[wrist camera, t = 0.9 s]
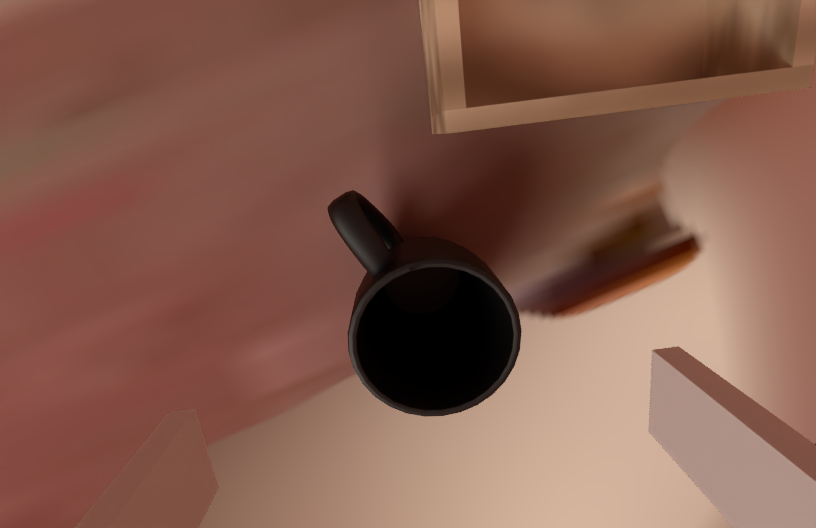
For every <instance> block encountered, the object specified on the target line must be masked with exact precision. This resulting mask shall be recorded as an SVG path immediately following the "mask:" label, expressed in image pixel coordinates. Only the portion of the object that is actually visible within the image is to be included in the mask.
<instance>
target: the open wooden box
mask: <svg viewBox="0 0 816 528" xmlns="http://www.w3.org/2000/svg"><path fill="white" fill-rule="evenodd" d="M419 8H420V18H421V28H422V38H423V48H424V58H425V68H426V78H427V88H428V98H429V108H430V118H431V128H432V134H449V133H457V132H465V131H473V130H480V129H488V128H496V127H504V126H512V125H520V124H528V123H536V122H544V121H552V120H560V119H568V118H575V117H583V116H591V115H599V114H607V113H615V112H623V111H631V110H639V109H647V108H655V107H663V106H671V105H678V104H686V103H694V102H702V101H710V100H718V99H726V98H734V97H741V96H749V95H758V94H765V93H774V92H781V91H789V90H797V89H805V88H811V84H812V78H813V71H814V64H815V57H816V0H419Z"/></svg>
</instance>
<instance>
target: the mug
mask: <svg viewBox="0 0 816 528" xmlns="http://www.w3.org/2000/svg"><path fill="white" fill-rule="evenodd" d="M328 213H329V217H330V219H331V221H332V223H333V225H334V227H335V228H336V230H337V232H338V233H339V235H340V236H341V238H342V239H343V240H344V242H345V243H346V245H347V246H348V247H349V249H350V250H351V251H352V253H353V254H354V255H355V257H356V258H357V259H358V260H359V262H360V263H361V264H362V265H363V267H364V268H365V269H366V270H367V273H366V275H365V277H364V278H363V280H362V283H361V285H360V287H359V289H358V291H357V293H356V297H355V301H354V306H353V311H352V316H351V320H350V325H349V330H348V350H349V354H350V358H351V361H352V364H353V368H354V369H355V371H356V373H357V375H358V376H359V378H360V380H361V381H362V383H363V384H364V386H365V387H366V388H367V389H368V390H369V391H370V392H371V393H372V394H373V395H374V396H375V397H376V398H378V399H379V400H381V401H382V402H384V403H385V404H387V405H388V406H390V407H393V408H395V409H397V410H400V411H403V412H405V413H409V414H414V415H421V416H444V415H449V414H453V413H458V412H462V411H464V410H466V409H469V408H471V407H473V406H476V405H478V404H479V403H481V402H482V401H484V400H485V399H486V398H488V397H489V396H491V395H492V394H493V393H494V392H495V391H496V390H497V389H498V388H499V387H500V386H501V385H502V384H503V383H504V382H505V380H506V379H507V377H508V375H509V374H510V372H511V371H512V369H513V367H514V365H515V362H516V359H517V356H518V353H519V350H520V340H521V325H520V319H519V313H518V311H517V308H516V306H515V304H514V301H513V299H512V297H511V295H510V294H509V293H508V291H507V290H506V289H505V287H504V286H503V285H502V283H501V282H500V281H499V280H498V278H497V277H496V276H495V274H494V273H493V272H492V270H491V269H490V268H489V267H488V265H487V264H486V263H485V262H483V261H482V260H481V259H480V258H478V257H477V256H476V255H475V254H473V253H472V252H471V251H469V250H468V249H466V248H464V247H462V246H459V245H457V244H455V243H453V242H451V241H447V240H443V239H438V238H415V239H411V240H406V241H404V240H403V239H402V237H401V236H400V234H399V233H398V231H397V230H396V229H395V227H394V226H393V225H392V224H391V223H390V221H389V220H388V219H387V218H386V217H385V216H384V215H383V214H382V213H381V212H380V211H379V210H378V209H377V208H376V207H375V206H374V205H372V204H371V203H370V202H369V201H368V200H367V199H366V198H365V197H363V196H362V195H361V194H359V193H357V192H356V191H354V190H352V191H349V192H346V193H344V194H342V195H341V196H339V197H338V198H336V199H335V200H333V201H332V203H331V204H330V205H329V206H328Z"/></svg>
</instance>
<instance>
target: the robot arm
mask: <svg viewBox="0 0 816 528" xmlns="http://www.w3.org/2000/svg"><path fill="white" fill-rule="evenodd" d="M650 389H651V390H650V412H649V432H650V434H651V435H652V436H653V437H654V438H655V439H656V440H657V441H658V443H659V444H660V445H661V446H662V447H663V448H664V449H665V450H666V452H667V453H668V454H669V455H670V456H671V457H672V458H673V460H675V462H676V463H677V464H678V465H679V466H680V467H681V468H682V470H683V471H684V472H685V473H686V474H687V475H688V477H690V479H691V480H692V481H693V482H694V483H695V484H696V486H697V487H698V488H699V489H700V490H701V491H702V492H703V493H704V494H705V496H706V497H707V498H708V499H709V500H710V501H711V503H712V504H713V505H714V506H715V507H716V508H717V509H718V510H719V512H720V513H721V514H722V515H723V516H724V517H725V518H726V519H727V521H728V522H729V523H730V524H731V525H732V526H733V527H734V528H816V444H814V443H812V442H811V441H809V440H808V439H806V438H805V437H804V436H802V435H801V434H800V433H798V432H797V431H795V430H794V429H793V428H791V427H790V426H788V425H787V424H785V423H784V422H783V421H781V420H780V419H779V418H777V417H776V416H774V415H773V414H772V413H770V412H769V411H768V410H766V409H765V408H763V407H762V406H761V405H759V404H758V403H756V402H755V401H754V400H752V399H751V398H750V397H748V396H747V395H745V394H744V393H743V392H741V391H740V390H738V389H737V388H736V387H734V386H733V385H731V384H730V383H729V382H727V381H726V380H724V379H723V378H722V377H720V376H719V375H718V374H716V373H715V372H713V371H712V370H710V369H709V368H708V367H706V366H705V365H703V364H702V363H701V362H699V361H698V360H697V359H695V358H694V357H692V356H691V355H689V354H688V353H687V352H685V351H684V350H683V349H681V348H680V347H672V348H664V349H656V350H652V364H651V388H650ZM218 487H219V486H218V483H217V480H216V477H215V473H214V470H213V467H212V463H211V460H210V457H209V453H208V450H207V447H206V443H205V440H204V437H203V433H202V430H201V427H200V424H199V420H198V417H197V414H196V410H195V409H191V410H183V411H175V412H168V413H167V415H166V416H165V417H164V418H163V420H162V421H161V422H160V423H159V424H158V426H157V427H156V428H155V429H154V431H153V432H152V433H151V434H150V436H149V437H148V438H147V439H146V440H145V442H144V443H143V444H142V445H141V447H140V448H139V449H138V450H137V452H136V453H135V454H134V455H133V456H132V458H131V459H130V460H129V461H128V463H127V464H126V465H125V466H124V468H123V469H122V470H121V471H120V472H119V474H118V475H117V476H116V477H115V479H114V480H113V481H112V482H111V484H110V485H109V486H108V487H107V488H106V490H105V491H104V492H103V493H102V495H101V496H100V497H99V498H98V500H97V501H96V502H95V503H94V504H93V506H92V507H91V508H90V509H89V511H88V512H87V513H86V514H85V516H84V517H83V518H82V519H81V520H80V522H79V523H78V524H77V525H76V527H75V528H199V526H200V524H201V522H202V520H203V518H204V516H205V514H206V512H207V510H208V508H209V506H210V504H211V502H212V500H213V498H214V496H215V494H216V492H217V490H218Z"/></svg>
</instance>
